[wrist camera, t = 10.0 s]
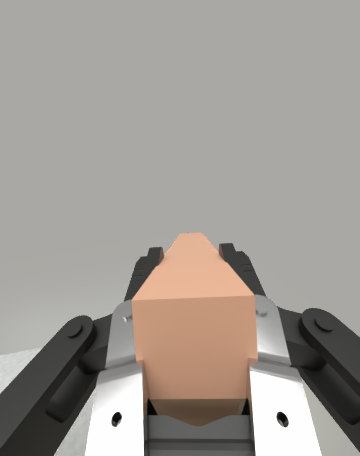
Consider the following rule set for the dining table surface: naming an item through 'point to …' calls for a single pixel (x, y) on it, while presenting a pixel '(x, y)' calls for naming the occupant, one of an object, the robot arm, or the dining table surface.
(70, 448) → the dining table surface
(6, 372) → the dining table surface
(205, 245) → the peach-coloured block
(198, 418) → the stand
